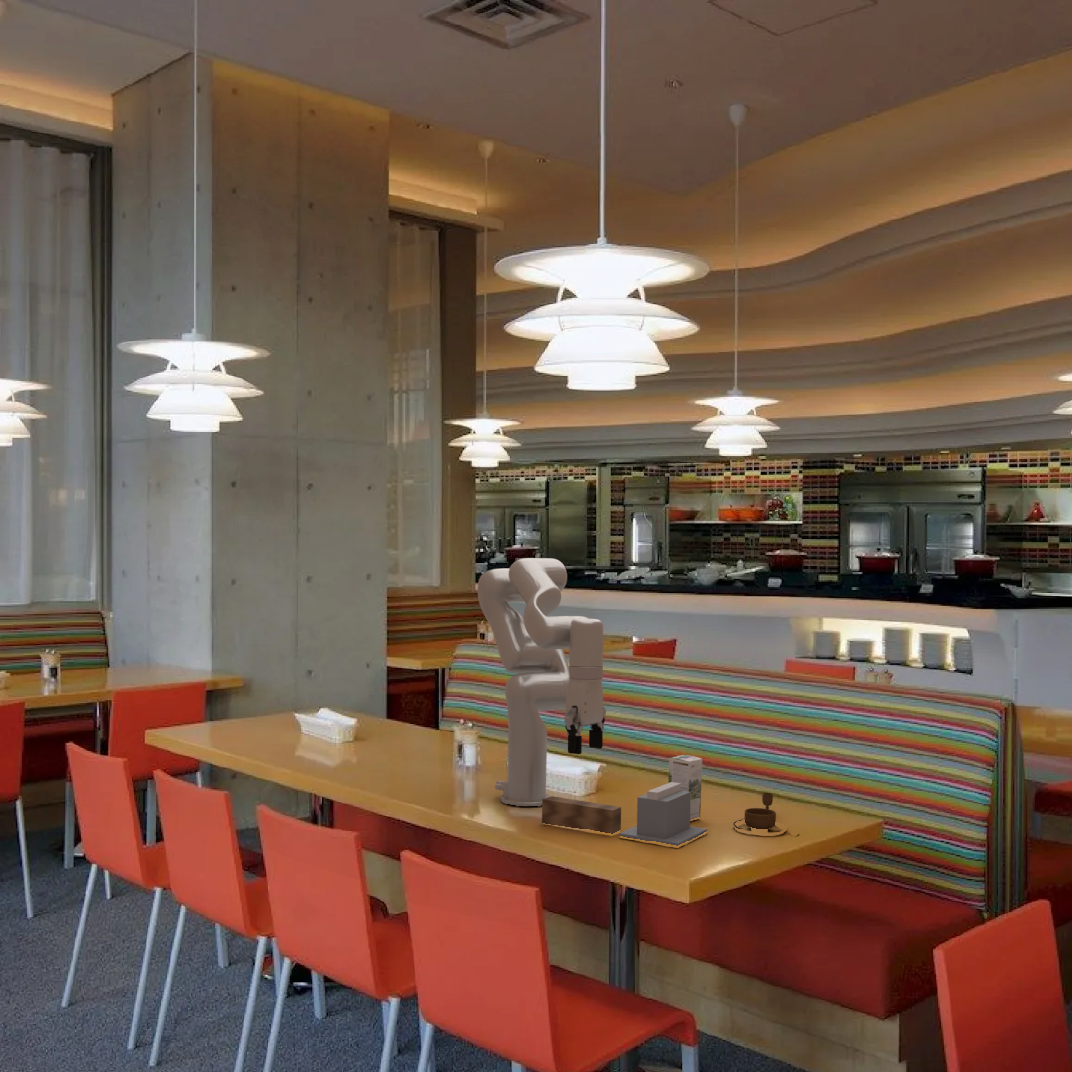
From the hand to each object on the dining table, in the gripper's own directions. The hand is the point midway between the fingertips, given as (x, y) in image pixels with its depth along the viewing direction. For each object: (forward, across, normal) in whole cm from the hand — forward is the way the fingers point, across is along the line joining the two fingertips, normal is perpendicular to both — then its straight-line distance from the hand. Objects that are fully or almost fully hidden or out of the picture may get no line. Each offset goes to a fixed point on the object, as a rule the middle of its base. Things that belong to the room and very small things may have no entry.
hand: (585, 750), depth 264 cm
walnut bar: (+18, 0, -1) cm, 18 cm away
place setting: (+19, -27, +33) cm, 47 cm away
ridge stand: (+18, -4, +17) cm, 25 cm away
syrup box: (+18, -22, +14) cm, 31 cm away
